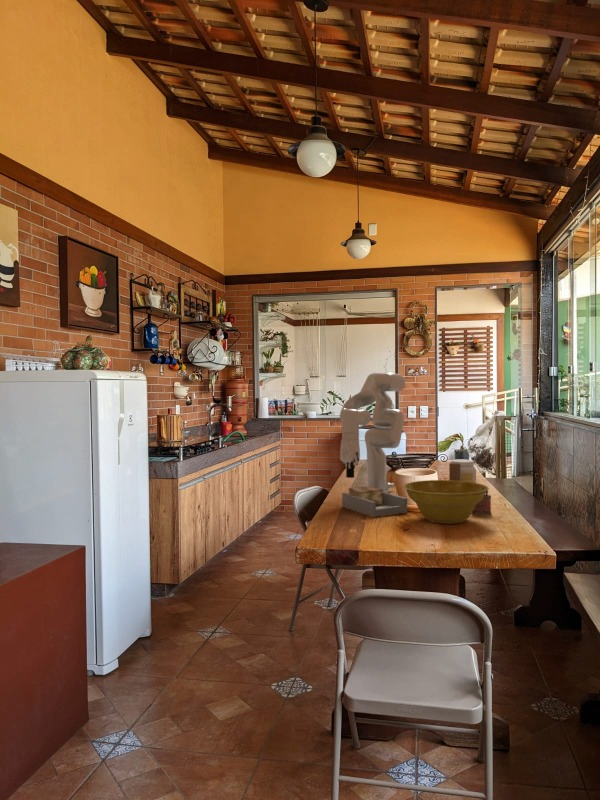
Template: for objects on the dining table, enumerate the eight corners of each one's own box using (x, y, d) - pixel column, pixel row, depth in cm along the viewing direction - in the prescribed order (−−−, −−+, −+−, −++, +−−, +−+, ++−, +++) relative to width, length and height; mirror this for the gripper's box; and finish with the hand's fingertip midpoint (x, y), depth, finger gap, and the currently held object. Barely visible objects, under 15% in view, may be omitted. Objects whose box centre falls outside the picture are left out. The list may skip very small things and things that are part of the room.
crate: (370, 500, 254) (370, 486, 254) (382, 504, 246) (382, 489, 245) (348, 503, 248) (348, 488, 248) (360, 507, 240) (360, 491, 240)
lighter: (491, 513, 233) (491, 488, 233) (490, 514, 230) (490, 490, 230) (471, 511, 237) (471, 487, 236) (470, 513, 234) (470, 488, 233)
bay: (374, 502, 256) (374, 489, 256) (407, 512, 235) (407, 498, 235) (342, 506, 248) (342, 493, 248) (373, 517, 227) (373, 502, 227)
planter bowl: (390, 514, 233) (389, 481, 233) (460, 509, 242) (459, 477, 241) (427, 533, 202) (427, 495, 202) (506, 526, 211) (506, 490, 210)
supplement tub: (456, 492, 279) (456, 458, 278) (480, 495, 271) (480, 460, 271) (444, 496, 270) (444, 460, 269) (469, 499, 262) (469, 463, 261)
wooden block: (471, 503, 253) (471, 463, 252) (470, 505, 249) (470, 464, 248) (450, 502, 256) (450, 462, 255) (449, 504, 252) (449, 463, 251)
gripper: (334, 436, 261) (334, 476, 261) (352, 437, 248) (352, 480, 248) (348, 435, 265) (348, 475, 265) (366, 437, 252) (366, 479, 251)
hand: (350, 477), depth 256 cm, fingers closed
